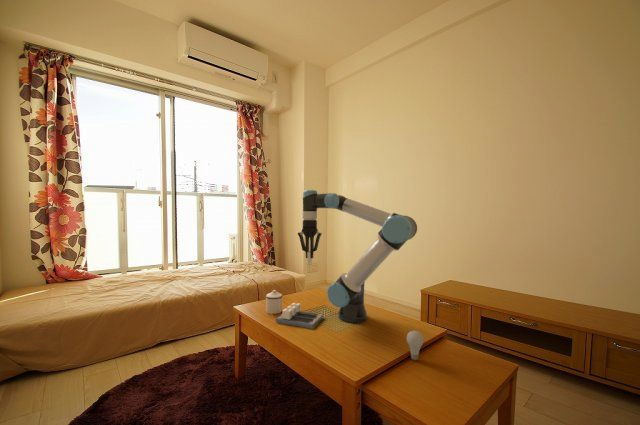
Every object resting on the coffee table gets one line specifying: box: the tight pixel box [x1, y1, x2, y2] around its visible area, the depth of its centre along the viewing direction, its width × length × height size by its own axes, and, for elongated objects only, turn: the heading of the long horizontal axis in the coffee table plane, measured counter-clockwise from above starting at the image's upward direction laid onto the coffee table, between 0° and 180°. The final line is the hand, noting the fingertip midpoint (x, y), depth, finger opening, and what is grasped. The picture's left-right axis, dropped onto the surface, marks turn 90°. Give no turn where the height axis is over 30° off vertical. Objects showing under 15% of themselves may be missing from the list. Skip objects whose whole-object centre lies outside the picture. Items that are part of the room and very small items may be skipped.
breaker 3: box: [290, 302, 301, 312], centre depth 149 cm, size 4×3×4 cm
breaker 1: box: [281, 308, 292, 320], centre depth 140 cm, size 4×3×4 cm
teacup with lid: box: [265, 289, 283, 315], centre depth 155 cm, size 12×9×12 cm
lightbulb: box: [406, 330, 425, 361], centre depth 106 cm, size 6×6×11 cm
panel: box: [275, 310, 324, 330], centre depth 143 cm, size 20×15×3 cm
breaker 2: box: [286, 305, 296, 316], centre depth 144 cm, size 4×3×4 cm
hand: (309, 264), depth 146 cm, fingers closed
